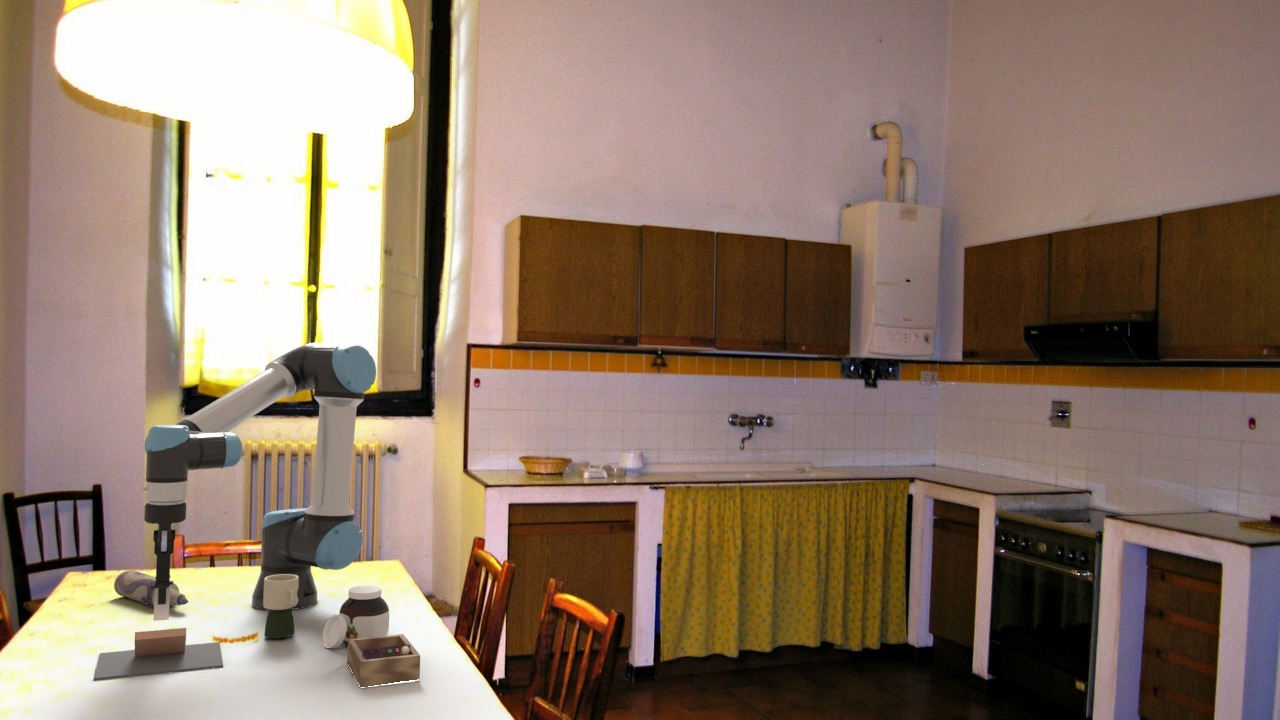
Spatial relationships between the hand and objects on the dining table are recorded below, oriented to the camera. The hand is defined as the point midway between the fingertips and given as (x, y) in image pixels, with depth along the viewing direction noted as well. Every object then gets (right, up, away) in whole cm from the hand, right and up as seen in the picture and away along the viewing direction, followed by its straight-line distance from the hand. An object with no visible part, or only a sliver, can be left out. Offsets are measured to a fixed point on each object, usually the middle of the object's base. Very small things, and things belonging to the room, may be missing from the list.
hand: (161, 619), depth 189 cm
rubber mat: (+1, -8, -3) cm, 8 cm away
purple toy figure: (+48, -10, -9) cm, 49 cm away
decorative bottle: (-22, -7, +38) cm, 45 cm away
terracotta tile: (0, -7, +1) cm, 7 cm away
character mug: (+18, -9, +16) cm, 25 cm away
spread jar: (+35, -9, +12) cm, 38 cm away
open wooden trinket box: (+46, -9, -5) cm, 47 cm away
